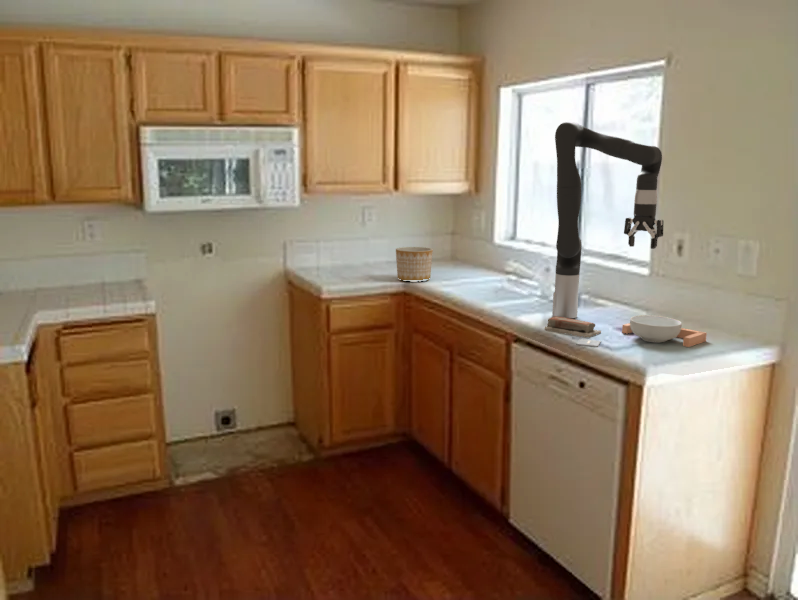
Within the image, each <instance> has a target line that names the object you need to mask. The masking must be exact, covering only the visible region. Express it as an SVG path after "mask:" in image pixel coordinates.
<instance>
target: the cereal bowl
mask: <svg viewBox="0 0 798 600" xmlns="http://www.w3.org/2000/svg"><path fill="white" fill-rule="evenodd" d="M629 323H630V327H631V330H632V331H633V332H632V333H633V334H634V335H635V336H637V337H638V338H639V337H640V338H641V339H642V340H643V341H644V342H648V343H658V344H659V343H660V344H661V343H665V342H667V341H669V340H673V339H675V338H678V337H677V336H678V335H679V333H680V331H681V328H682V325H683V324H682V321H680V320H678V319H675V318H672V317H667V316H660V315H652V314H651V315H650V314H649V315H647V314H642V315H639V314H638V315H634V316H631V317H630V318H629Z"/></svg>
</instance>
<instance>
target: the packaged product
mask: <svg viewBox="0 0 798 600" xmlns="http://www.w3.org/2000/svg"><path fill="white" fill-rule="evenodd" d="M595 326H596V324H595V323H594V322H590V321H586V320H580V319H576V318H564V317H558V316H555V317H554V316H552V317H549V318H547V325H546V326H545V327H544V330H545V331H549V332H554V333H555V332H556V333H559V334H564V333H566V334H565V335H570V334H572V335H571V336H575V335H577V336H576V337H581V336H583V337H582V338H586V337H589V338H591V336H592V337H594V336H593V335H595V336H597V335H599V333H600V334H601V333H602V330H598V329H594V328H595ZM596 334H597V335H596Z"/></svg>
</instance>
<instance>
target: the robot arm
mask: <svg viewBox="0 0 798 600" xmlns="http://www.w3.org/2000/svg"><path fill="white" fill-rule="evenodd" d="M554 141H555V142H554V143H555V151H556V206H557V218H558V219H557V220H558V224H557V225H558V227H557V238H556V245H555V246H556V247H555V248H556V251H557V252H556V253H557V255H556V265H555V278H554V279H555V280H554V292H553V294H552V310H551V311H552V315H551V316H552V317H555V316H558V317H564V318H569V319H576V318H577V317H578V310H579V309H578V308H579V307H578V305H579V290H580V289H579V288H580V286H579V285H580V271H581V260H582V257H581V256H582V239H581V238H580V234H579V216H580V211H581V210H580V209H581V205H582V177H581V175H580V172H579V169H578V166H577V163H576V148H588V149H592V150H595V151H597V152H601V153H602V154H604V155H607V156H610V157H613V158H616V159H620V160H624V161H625V160H626V161H628V162H631V163H633V164H636V165H639V166H641V170H640V173H639V174H638V175H637V176H636V187H635V188H636V189H635V195H634V205H633V218H632V217H626V218H625V221H624V229H623V234H624V235H627V236H628V245H629V247H630V248H631V247H635V242H636V241H635V238H636V237H635V235H636V234H637V233H638V232H640V231H641V232H642V231H643V232H647V233H648V234H649V235H650V237H651V238H650V239H651V240H650V249H656V248H657V247H658V239H659V238H661V237H663V236H664V219H656V214H657V205H658V204H657V202H658V200H657V199H658V190H657V189H658V178H659V174H660V171H661V166H662V161H663V155H662V154H663V153H662V151H661V149H660V148H659V147H657V146H656V145H648V144H647V145H646V144H641V143H637V142H635V141H632V140H629V139H626V138H622V137H617V136H613V135H608V134H605V133H600V132H598V131H595V130H592V129H590V128H588V127H585V126H583V125H581V124H579V123H578V122H569V121H567V122H566V121H565V122H562V123H560V124H559V125H558V126H557V128H556V130H555V134H554ZM632 224H633V226H632ZM655 226H656V228H655Z"/></svg>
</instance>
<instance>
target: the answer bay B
mask: <svg viewBox="0 0 798 600" xmlns="http://www.w3.org/2000/svg"><path fill="white" fill-rule="evenodd" d="M621 327H622V330H621V333H622V334H625V333H626V335H628V333H629V334H631V333H633V331H632V330H631V327H630V322H629V323H624V324H622V326H621ZM707 335H708V334H707V332H705V331H700V330H694V329H689V328H688V329H687V328H682V327H681V331H680V333H679V335H678V336H677V337H676V338H680V339H683V341H682V346H683V347H686V348H691V347H693V346H695V345H699V344H702V343H705V342H706V341H707Z"/></svg>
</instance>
